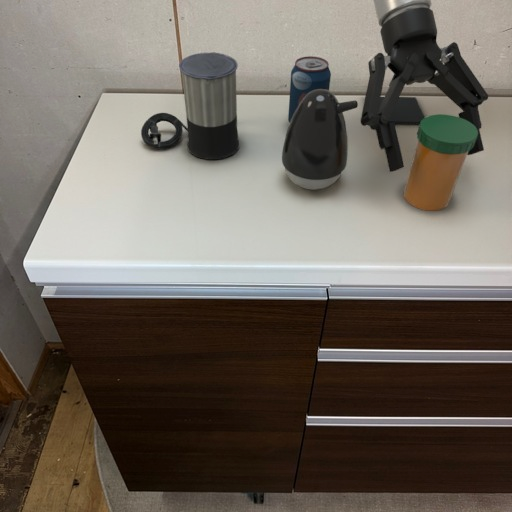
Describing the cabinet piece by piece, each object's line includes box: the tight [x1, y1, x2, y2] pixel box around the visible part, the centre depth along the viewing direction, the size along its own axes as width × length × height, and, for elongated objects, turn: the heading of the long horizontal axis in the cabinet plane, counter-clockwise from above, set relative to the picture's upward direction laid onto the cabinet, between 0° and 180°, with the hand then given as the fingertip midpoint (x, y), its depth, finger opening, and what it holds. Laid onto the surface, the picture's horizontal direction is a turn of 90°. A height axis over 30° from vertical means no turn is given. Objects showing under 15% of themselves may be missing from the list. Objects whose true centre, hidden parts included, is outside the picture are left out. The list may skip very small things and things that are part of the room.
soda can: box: [287, 55, 332, 124], centre depth 85 cm, size 7×7×12 cm
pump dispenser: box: [281, 89, 359, 190], centre depth 72 cm, size 10×10×15 cm
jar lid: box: [416, 113, 478, 154], centre depth 66 cm, size 8×8×2 cm
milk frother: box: [140, 51, 240, 160], centre depth 79 cm, size 14×16×15 cm
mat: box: [377, 96, 425, 125], centre depth 93 cm, size 10×10×1 cm
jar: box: [403, 139, 468, 212], centre depth 70 cm, size 7×7×12 cm
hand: (437, 161), depth 69 cm, fingers open, 13 cm apart
